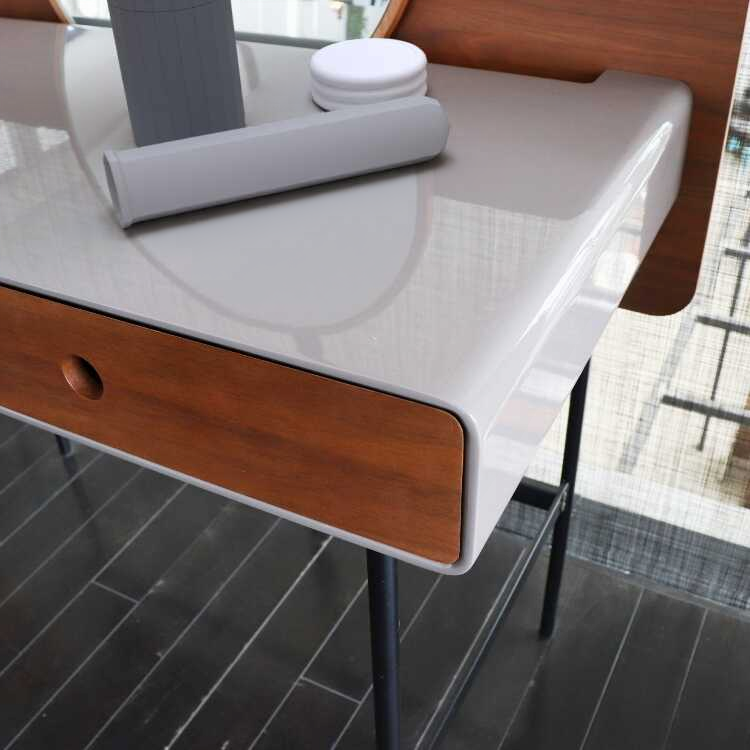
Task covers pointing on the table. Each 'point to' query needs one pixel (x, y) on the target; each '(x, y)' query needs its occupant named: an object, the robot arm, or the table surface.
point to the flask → (178, 67)
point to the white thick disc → (366, 72)
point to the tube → (272, 157)
